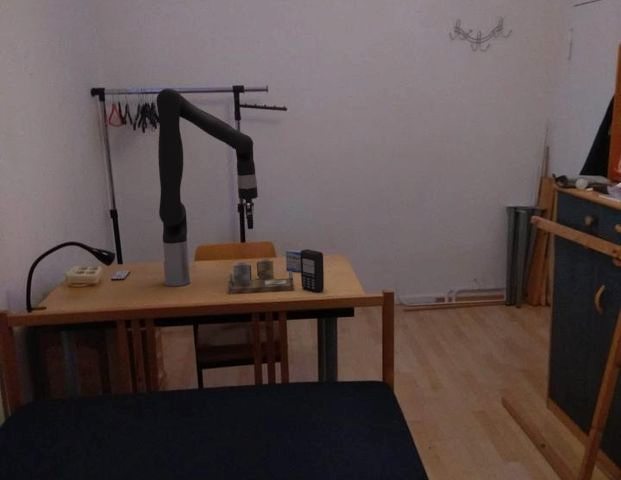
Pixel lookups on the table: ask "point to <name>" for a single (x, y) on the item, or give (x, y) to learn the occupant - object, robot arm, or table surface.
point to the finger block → (265, 269)
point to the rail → (255, 281)
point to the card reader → (312, 270)
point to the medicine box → (293, 260)
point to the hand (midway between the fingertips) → (250, 226)
